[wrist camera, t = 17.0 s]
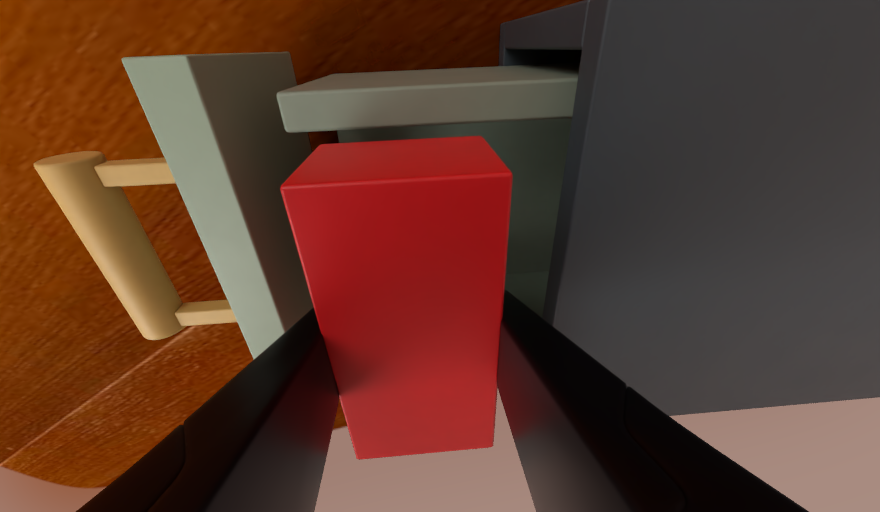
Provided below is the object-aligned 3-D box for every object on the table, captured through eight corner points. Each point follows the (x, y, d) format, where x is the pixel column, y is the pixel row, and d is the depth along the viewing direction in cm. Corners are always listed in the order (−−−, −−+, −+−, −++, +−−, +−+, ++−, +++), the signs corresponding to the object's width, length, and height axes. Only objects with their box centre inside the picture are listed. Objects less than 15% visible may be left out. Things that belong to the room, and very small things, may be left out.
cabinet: (488, 285, 18) (535, 428, 12) (500, 23, 12) (610, -9, 6) (735, 268, 19) (921, 394, 12) (858, 8, 13) (1365, -37, 6)
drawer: (222, 305, 17) (132, 427, 11) (108, 59, 12) (-160, 69, 6) (570, 280, 18) (641, 384, 12) (616, 37, 12) (779, 29, 7)
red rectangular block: (476, 366, 11) (493, 448, 9) (367, 375, 11) (356, 461, 9) (482, 134, 7) (514, 172, 5) (318, 143, 7) (276, 185, 5)
